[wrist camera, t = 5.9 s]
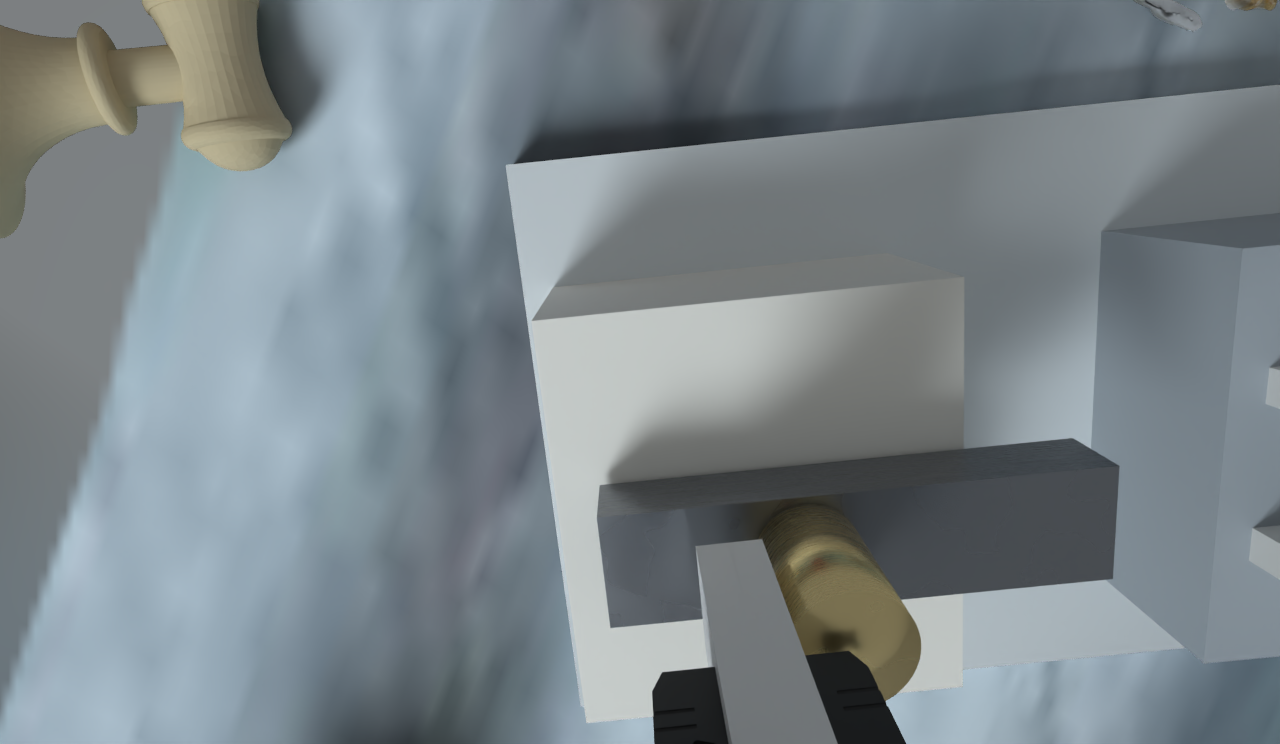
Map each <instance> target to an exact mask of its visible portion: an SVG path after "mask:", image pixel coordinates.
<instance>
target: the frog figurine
mask: <svg viewBox="0 0 1280 744" xmlns="http://www.w3.org/2000/svg"><path fill="white" fill-rule="evenodd" d="M1134 1H1135V2H1136V3H1138V4H1140V5H1142V6H1145V7H1147V8H1149V9H1150V11H1151V13H1152V14H1153V15H1154V16H1155V17H1156V18H1157V19H1159V20H1161V21H1164V22H1166V23H1169V24H1171V25H1177V26H1179V27H1181V28H1183V29H1186V30H1190V31H1192V32H1193V31H1197V30H1199V29H1200V28H1201V27H1202V21H1201V18H1200V16H1199V15H1198V14H1197V13H1196V12H1195V11H1193V10H1191V9H1189V8H1186V7H1185V6H1183V5H1181V4H1179V3H1177V2H1174V1H1173V0H1134ZM1225 3H1226V5H1227V6H1228V8H1229V9H1231V10H1236V9H1241V10H1251V9H1254V8H1262V9H1267V10H1272V9H1274V8H1275V6H1276V3H1277V0H1225Z"/></svg>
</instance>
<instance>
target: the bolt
mask: <svg viewBox="0 0 1280 744" xmlns="http://www.w3.org/2000/svg"><path fill="white" fill-rule="evenodd" d="M1119 467H1120V466H1119V465H1117V464H1116V463H1114V462H1112V461H1110V460H1109V459H1107V458H1105V457H1104V456H1102V455H1100V454H1099V453H1097V452H1095V451H1094V450H1092V449H1090V448H1089V447H1087V446H1085V445H1084V444H1082V443H1080V442H1079V441H1077V440H1075V439H1074V438H1068V439H1058V440H1048V441H1038V442H1028V443H1018V444H1008V445H998V446H988V447H978V448H968V449H958V450H947V451H937V452H927V453H917V454H907V455H897V456H887V457H877V458H867V459H857V460H847V461H837V462H827V463H817V464H807V465H797V466H787V467H777V468H767V469H757V470H747V471H737V472H726V473H716V474H706V475H696V476H686V477H676V478H666V479H656V480H646V481H636V482H626V483H616V484H606V485H600V487H599V498H598V509H597V524H598V532H599V540H600V548H601V556H602V564H603V573H604V581H605V589H606V597H607V605H608V613H609V621H610V628H617V627H627V626H638V625H648V624H658V623H668V622H679V621H689V620H699V619H703V616H702V606H701V596H700V586H699V576H698V566H697V556H696V546H701V545H711V544H720V543H730V542H739V541H748V540H758V539H762V540H763V543H764V546H765V548H766V551H767V554H768V557H769V559H770V562H771V565H772V567H773V570H774V573H775V575H776V578H777V581H778V584H779V586H780V589H781V592H782V594H783V597H784V600H785V603H786V605H787V608H788V611H789V613H790V616H791V619H792V621H793V624H794V627H795V630H796V632H797V635H798V638H799V640H800V643H801V646H802V649H803V651H804V654H805V655H813V654H823V653H832V652H842V651H850V652H851V653H852V654H854V655H855V656H856V657H857V658H858V659H860V660H861V661H862V662H863V663H864V664H866V665H867V666H868V667H869V669H870V671H871V673H872V675H873V677H874V679H875V681H876V683H877V685H878V689H879V690H880V691H881V693H882V695H883V698H884V700H885V701H886V700H888V699H890V698H891V697H893V696H894V695H896V694H897V693H898V692H899V691H900V690H902V689H903V688H904V686H905V685H906V684H907V683H908V682H909V681H910V679H911V678H912V676H913V675H914V673H915V671H916V669H917V666H918V663H919V660H920V655H921V637H920V633H919V630H918V627H917V625H916V623H915V621H914V619H913V618H912V616H911V615H910V613H909V612H908V610H907V608H906V607H905V605H904V604H903V602H902V601H901V600H904V599H914V598H924V597H935V596H945V595H955V594H965V593H976V592H986V591H996V590H1006V589H1016V588H1027V587H1037V586H1047V585H1057V584H1068V583H1078V582H1088V581H1098V580H1109V579H1113V570H1114V553H1115V536H1116V519H1117V501H1118V484H1119Z"/></svg>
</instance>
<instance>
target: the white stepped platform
mask: <svg viewBox="0 0 1280 744" xmlns="http://www.w3.org/2000/svg"><path fill="white" fill-rule="evenodd" d="M506 171H507V178H508V185H509V192H510V200H511V207H512V214H513V221H514V228H515V236H516V243H517V250H518V257H519V264H520V272H521V279H522V286H523V293H524V300H525V308H526V315H527V322H528V329H529V336H530V344H531V351H532V358H533V365H534V372H535V380H536V387H537V394H538V401H539V408H540V416H541V423H542V430H543V437H544V445H545V452H546V459H547V466H548V473H549V481H550V488H551V495H552V502H553V509H554V517H555V524H556V531H557V538H558V545H559V553H560V560H561V567H562V574H563V581H564V589H565V596H566V603H567V610H568V617H569V625H570V632H571V639H572V646H573V653H574V661H575V668H576V675H577V682H578V689H579V697H580V704H581V707H582V706H584V708H585V715H586V722H587V723H593V722H604V721H614V720H624V719H635V718H645V717H653V701H652V690H653V689H654V687H655V685H656V683H657V681H658V679H659V677H660V675H661V673H662V672H669V671H679V670H688V669H698V668H707V667H708V661H707V655H706V647H705V636H704V626H703V619H699V620H689V621H679V622H668V623H658V624H648V625H638V626H627V627H617V628H610V621H609V613H608V605H607V597H606V589H605V581H604V573H603V564H602V556H601V548H600V540H599V532H598V524H597V509H598V498H599V487H600V485H606V484H616V483H626V482H636V481H646V480H656V479H666V478H676V477H686V476H696V475H706V474H716V473H726V472H737V471H747V470H757V469H767V468H777V467H787V466H797V465H807V464H817V463H827V462H837V461H847V460H857V459H867V458H877V457H887V456H897V455H907V454H917V453H927V452H937V451H947V450H958V449H968V448H978V447H988V446H998V445H1008V444H1018V443H1028V442H1038V441H1048V440H1058V439H1068V438H1074V439H1075V440H1077V441H1079V442H1080V443H1082V444H1084V445H1085V446H1087V447H1089V448H1090V449H1092V450H1094V451H1095V452H1097V453H1099V454H1100V455H1102V456H1104V457H1105V458H1107V459H1109V460H1110V461H1112V462H1114V463H1116V464H1117V465H1119V466H1120V467H1119V484H1118V501H1117V519H1116V536H1115V553H1114V570H1113V579H1109V580H1098V581H1088V582H1078V583H1068V584H1057V585H1047V586H1037V587H1027V588H1016V589H1006V590H996V591H986V592H976V593H965V594H955V595H945V596H935V597H924V598H914V599H904V600H901V601H902V602H903V604H904V605H905V607H906V608H907V610H908V612H909V613H910V615H911V616H912V618H913V619H914V621H915V623H916V625H917V627H918V630H919V633H920V637H921V655H920V660H919V663H918V666H917V669H916V671H915V673H914V675H913V676H912V678H911V679H910V681H909V682H908V683H907V684H906V685H905V686H904V688H903V689H902V690H900V691H899V692H898V693H904V692H915V691H925V690H936V689H946V688H956V687H963V670H965V669H976V668H986V667H996V666H1007V665H1017V664H1027V663H1038V662H1048V661H1058V660H1069V659H1079V658H1089V657H1100V656H1110V655H1120V654H1131V653H1141V652H1152V651H1162V650H1172V649H1183V648H1186V649H1187V650H1188V651H1190V652H1191V653H1192V654H1193V655H1194V656H1195V657H1197V658H1198V659H1199V660H1200V661H1201V662H1202V663H1204V664H1205V663H1216V662H1226V661H1236V660H1247V659H1257V658H1267V657H1278V656H1280V85H1271V86H1261V87H1252V88H1242V89H1232V90H1223V91H1213V92H1203V93H1194V94H1184V95H1175V96H1165V97H1155V98H1146V99H1136V100H1126V101H1117V102H1107V103H1098V104H1088V105H1078V106H1069V107H1059V108H1049V109H1040V110H1030V111H1021V112H1011V113H1001V114H992V115H982V116H972V117H963V118H953V119H944V120H934V121H924V122H915V123H905V124H895V125H886V126H876V127H867V128H857V129H847V130H838V131H828V132H818V133H809V134H799V135H790V136H780V137H770V138H761V139H751V140H741V141H732V142H722V143H713V144H703V145H693V146H684V147H674V148H664V149H655V150H645V151H636V152H626V153H616V154H607V155H597V156H587V157H578V158H568V159H558V160H549V161H539V162H530V163H520V164H510V165H506Z"/></svg>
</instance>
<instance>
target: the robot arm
mask: <svg viewBox="0 0 1280 744" xmlns="http://www.w3.org/2000/svg"><path fill="white" fill-rule="evenodd" d="M696 556H697V566H698V576H699V586H700V596H701V606H702V616H703V626H704V636H705V647H706V655H707V661H708V667H707V668H698V669H688V670H679V671H669V672H662V673H661V675H660V677H659V679H658V681H657V683H656V685H655V687H654V689H653V690H652V701H653V722H654V742H655V744H906V742H905V740H904V738H903V736H902V734H901V732H900V730H899V728H898V726H897V724H896V722H895V720H894V718H893V716H892V714H891V712H890V710H889V708H888V707H887V706H886V702H885V700H884V698H883V695H882V693H881V691H880V690H879V689H878V685H877V683H876V681H875V679H874V677H873V675H872V673H871V671H870V669H869V667H868V666H867V665H866V664H864V663H863V662H862V661H861V660H860V659H858V658H857V657H856V656H855V655H854V654H852V653H851V652H850V651H842V652H832V653H823V654H813V655H805V654H804V651H803V649H802V646H801V643H800V640H799V638H798V635H797V632H796V630H795V627H794V624H793V621H792V619H791V616H790V613H789V611H788V608H787V605H786V603H785V600H784V597H783V594H782V592H781V589H780V586H779V584H778V581H777V578H776V575H775V573H774V570H773V567H772V565H771V562H770V559H769V557H768V554H767V551H766V548H765V546H764V543H763V540H762V539H758V540H748V541H739V542H730V543H720V544H711V545H701V546H696Z"/></svg>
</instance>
